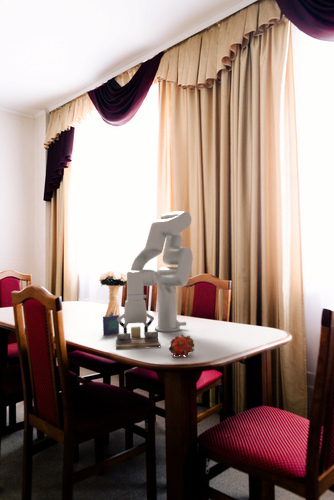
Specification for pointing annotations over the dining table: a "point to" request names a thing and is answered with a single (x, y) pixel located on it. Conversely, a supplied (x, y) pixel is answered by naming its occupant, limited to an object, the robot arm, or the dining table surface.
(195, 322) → the dining table surface
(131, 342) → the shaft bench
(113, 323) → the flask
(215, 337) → the dining table surface
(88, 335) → the dining table surface
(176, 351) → the dragon fruit
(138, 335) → the coupler
